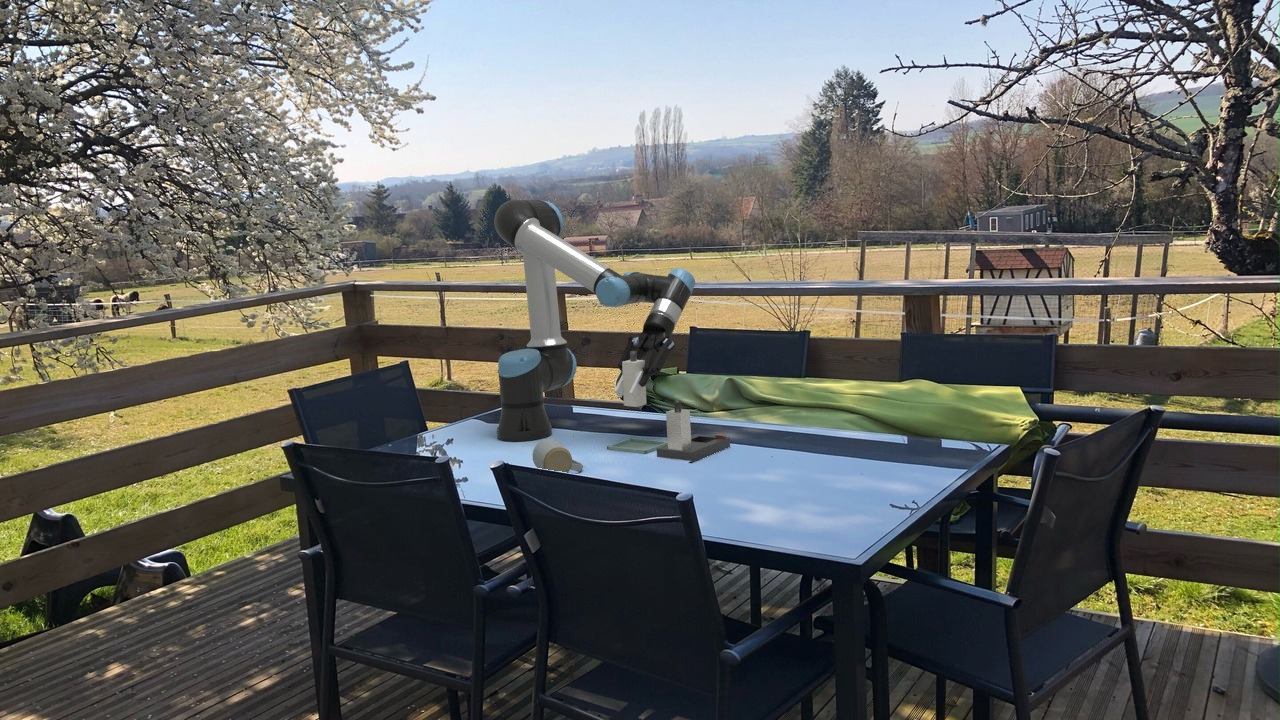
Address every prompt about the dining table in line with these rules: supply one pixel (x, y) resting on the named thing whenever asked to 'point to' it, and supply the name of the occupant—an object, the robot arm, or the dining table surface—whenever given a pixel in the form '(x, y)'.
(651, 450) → the tray
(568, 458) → the ceramic mug
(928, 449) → the dining table surface
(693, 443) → the pdu strip
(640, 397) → the ivory plug
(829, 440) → the dining table surface
